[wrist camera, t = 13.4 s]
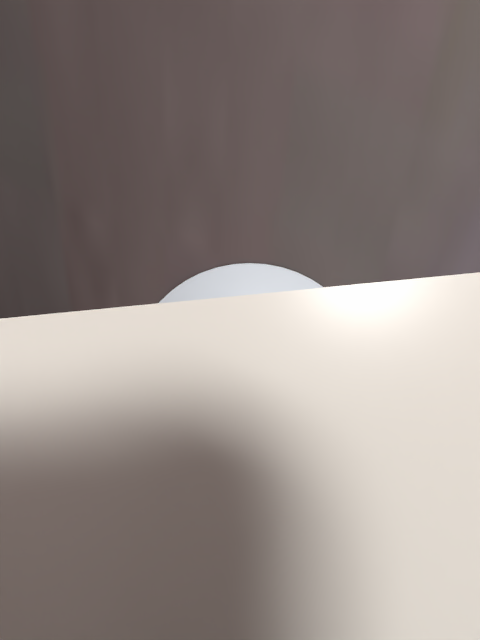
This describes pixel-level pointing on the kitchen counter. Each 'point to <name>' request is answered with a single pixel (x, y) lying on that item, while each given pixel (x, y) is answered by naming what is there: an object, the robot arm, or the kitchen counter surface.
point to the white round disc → (239, 282)
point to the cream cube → (245, 467)
